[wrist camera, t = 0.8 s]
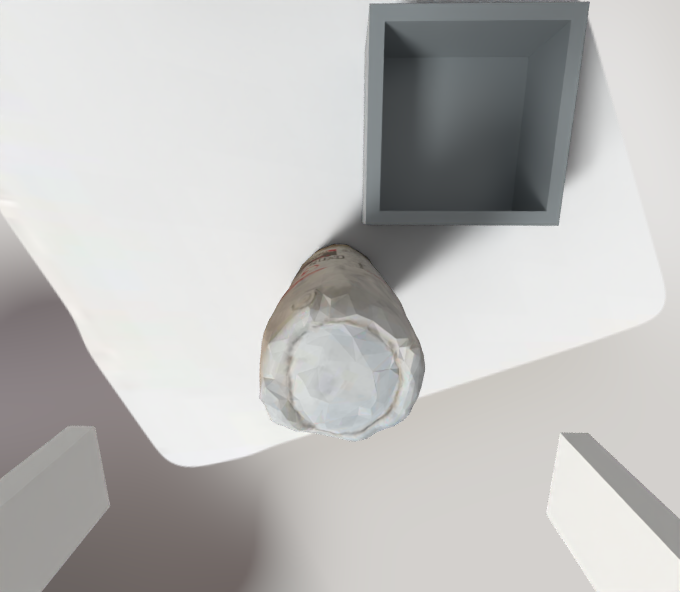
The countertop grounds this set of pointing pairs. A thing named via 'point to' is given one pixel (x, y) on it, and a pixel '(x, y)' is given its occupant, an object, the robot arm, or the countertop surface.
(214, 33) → the countertop surface
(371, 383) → the white paper tall sack
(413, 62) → the bin
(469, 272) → the countertop surface
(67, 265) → the countertop surface
